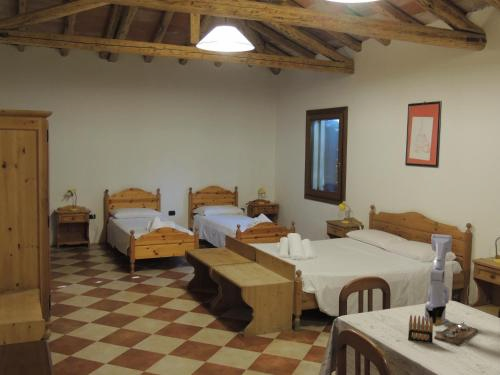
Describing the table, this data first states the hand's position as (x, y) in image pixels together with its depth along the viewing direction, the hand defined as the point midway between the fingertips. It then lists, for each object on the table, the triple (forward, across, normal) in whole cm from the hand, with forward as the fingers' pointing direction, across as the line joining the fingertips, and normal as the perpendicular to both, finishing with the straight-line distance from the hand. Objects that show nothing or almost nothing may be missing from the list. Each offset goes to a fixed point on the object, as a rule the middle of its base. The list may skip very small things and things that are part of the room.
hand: (435, 321), depth 244 cm
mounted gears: (+3, +2, -9) cm, 10 cm away
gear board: (+5, +2, -10) cm, 11 cm away
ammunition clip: (+5, -17, 0) cm, 18 cm away
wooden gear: (+1, 0, 0) cm, 1 cm away
